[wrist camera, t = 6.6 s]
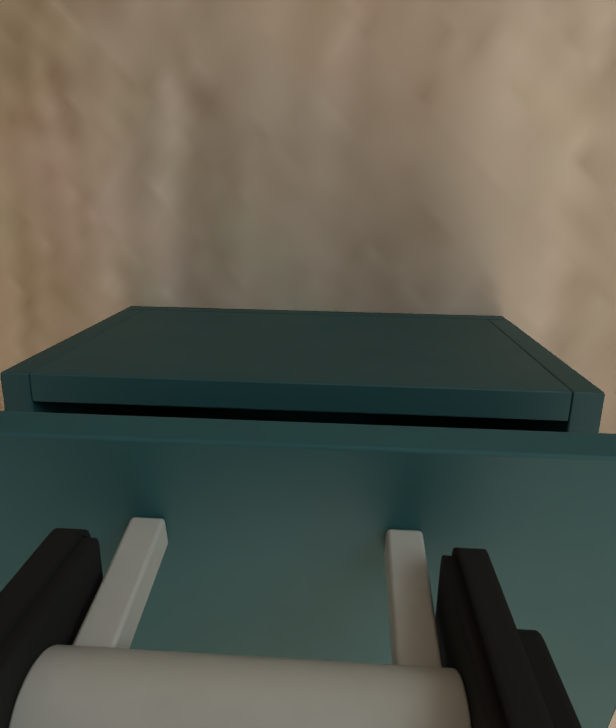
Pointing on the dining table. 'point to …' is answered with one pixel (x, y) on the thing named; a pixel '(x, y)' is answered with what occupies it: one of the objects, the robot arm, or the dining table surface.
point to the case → (308, 371)
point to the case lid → (303, 565)
